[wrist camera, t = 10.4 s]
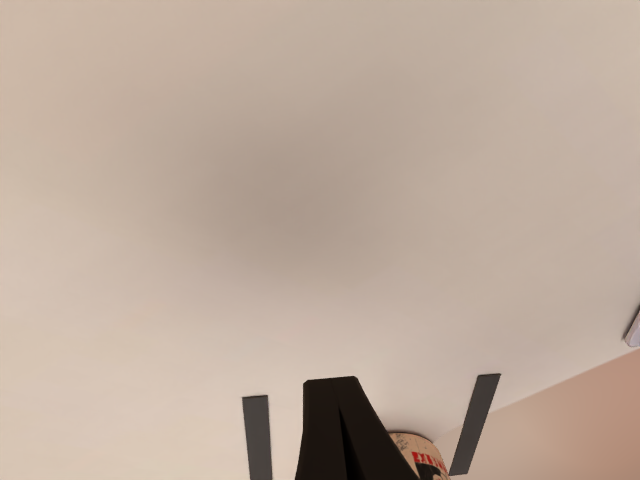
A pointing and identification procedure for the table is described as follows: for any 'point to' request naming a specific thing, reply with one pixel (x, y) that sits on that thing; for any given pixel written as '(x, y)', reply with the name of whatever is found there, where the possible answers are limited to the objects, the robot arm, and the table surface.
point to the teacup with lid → (421, 456)
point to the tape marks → (469, 438)
